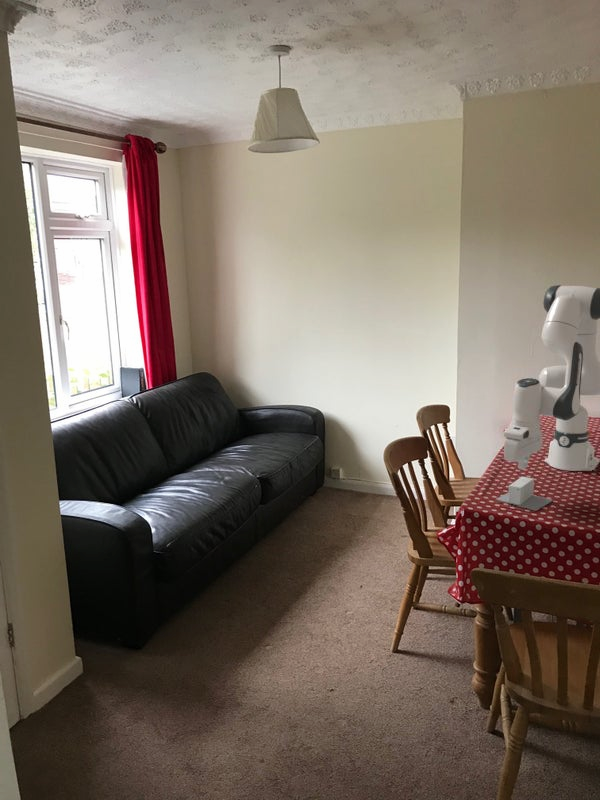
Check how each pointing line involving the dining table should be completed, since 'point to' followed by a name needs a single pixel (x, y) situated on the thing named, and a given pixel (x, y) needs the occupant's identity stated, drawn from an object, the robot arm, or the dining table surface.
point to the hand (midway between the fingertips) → (522, 468)
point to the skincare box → (520, 490)
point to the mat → (528, 502)
